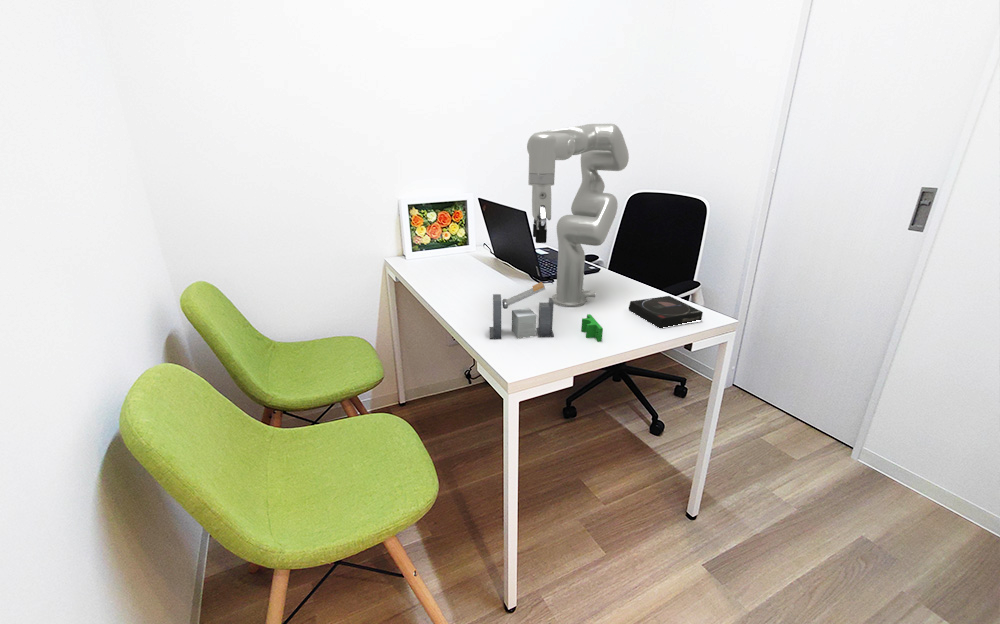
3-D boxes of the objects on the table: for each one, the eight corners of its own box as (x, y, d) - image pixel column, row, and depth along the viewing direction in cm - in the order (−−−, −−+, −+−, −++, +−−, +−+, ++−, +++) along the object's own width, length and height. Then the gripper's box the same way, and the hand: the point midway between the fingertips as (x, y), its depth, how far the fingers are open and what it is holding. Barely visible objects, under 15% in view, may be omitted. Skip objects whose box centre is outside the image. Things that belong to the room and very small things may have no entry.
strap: (544, 286, 135) (542, 281, 134) (546, 290, 131) (544, 285, 130) (503, 304, 137) (501, 299, 136) (504, 309, 133) (501, 304, 132)
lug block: (551, 329, 141) (552, 296, 137) (553, 337, 136) (555, 303, 132) (536, 329, 141) (537, 296, 137) (538, 337, 136) (539, 303, 132)
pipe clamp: (578, 328, 143) (579, 314, 141) (589, 327, 143) (590, 314, 142) (589, 342, 133) (590, 328, 131) (601, 342, 133) (603, 328, 131)
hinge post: (500, 328, 142) (500, 293, 137) (501, 339, 134) (501, 302, 130) (489, 328, 142) (489, 293, 137) (489, 339, 134) (489, 302, 130)
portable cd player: (666, 305, 162) (667, 295, 160) (700, 323, 147) (702, 312, 145) (628, 311, 157) (629, 300, 155) (659, 330, 142) (661, 318, 140)
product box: (511, 331, 140) (511, 309, 137) (529, 328, 142) (529, 307, 139) (517, 339, 135) (517, 316, 132) (536, 336, 136) (536, 314, 134)
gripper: (558, 182, 121) (555, 246, 127) (550, 176, 137) (548, 233, 144) (531, 182, 121) (529, 246, 127) (526, 176, 137) (524, 233, 143)
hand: (539, 239), depth 135 cm, fingers open, 7 cm apart
